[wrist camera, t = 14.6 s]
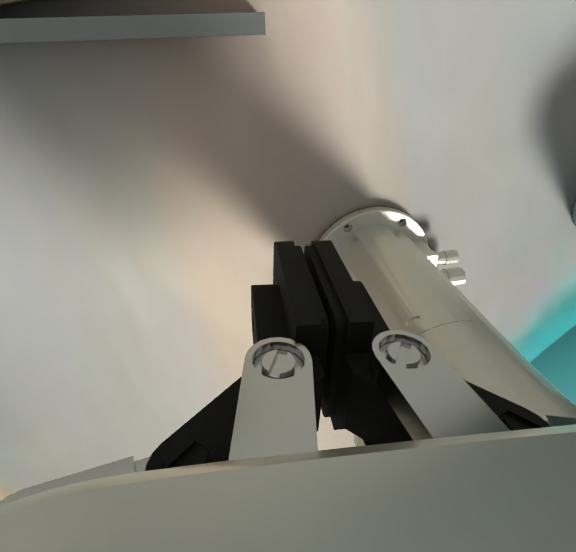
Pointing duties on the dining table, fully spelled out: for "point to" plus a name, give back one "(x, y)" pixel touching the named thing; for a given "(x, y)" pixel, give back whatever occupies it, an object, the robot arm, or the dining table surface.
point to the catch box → (130, 27)
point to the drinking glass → (574, 213)
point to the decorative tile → (10, 2)
